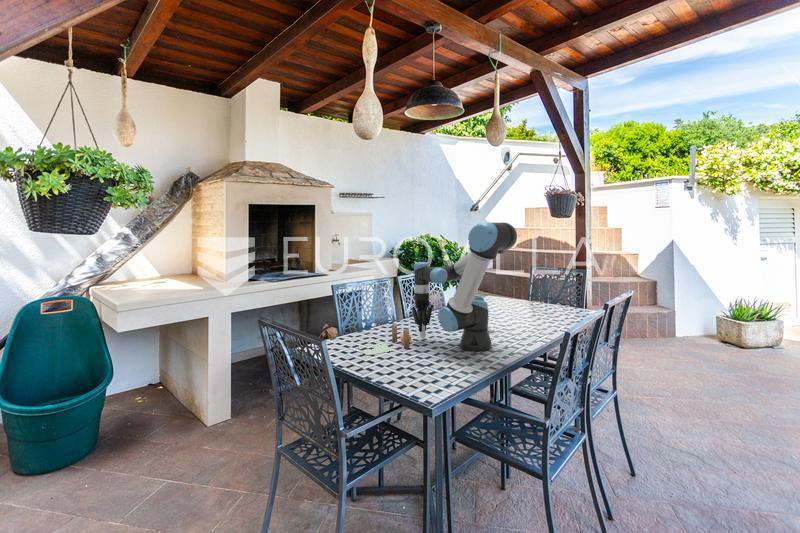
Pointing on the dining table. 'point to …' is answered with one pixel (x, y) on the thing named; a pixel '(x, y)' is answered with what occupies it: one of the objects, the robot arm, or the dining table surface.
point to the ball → (403, 338)
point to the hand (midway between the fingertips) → (422, 337)
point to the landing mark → (378, 350)
